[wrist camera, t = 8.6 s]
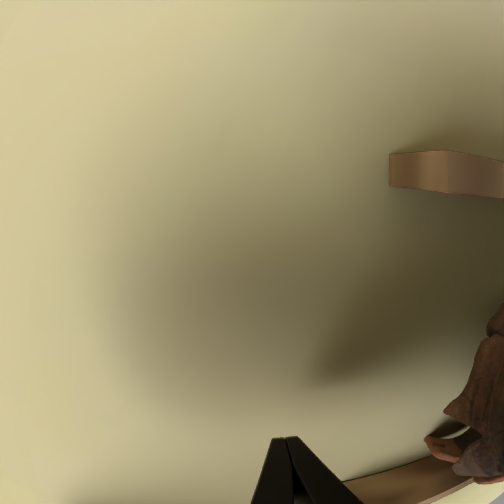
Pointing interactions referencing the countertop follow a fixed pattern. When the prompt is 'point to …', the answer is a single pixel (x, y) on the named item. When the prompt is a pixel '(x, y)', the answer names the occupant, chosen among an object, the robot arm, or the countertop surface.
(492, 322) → the pottery mug
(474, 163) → the walnut bay
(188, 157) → the countertop surface
